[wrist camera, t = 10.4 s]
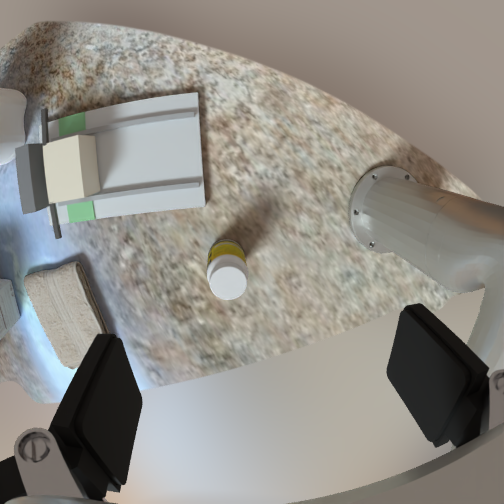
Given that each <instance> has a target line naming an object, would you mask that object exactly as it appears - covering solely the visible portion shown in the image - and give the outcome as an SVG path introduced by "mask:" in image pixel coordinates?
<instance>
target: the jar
mask: <svg viewBox="0 0 504 504" xmlns="http://www.w3.org/2000/svg"><path fill="white" fill-rule="evenodd" d="M26 105H27V99H26V97H25V96H24V95H23V94H22V93H21V92H20V91H18V90H14V89H5V88H0V165H4V164H7V163H9V162H10V161H12V160H13V159H14V158H15V157H16V155H15V148H18V147H21V146H24V144H25V131H24V114H25V109H26Z"/></svg>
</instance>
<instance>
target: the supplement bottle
mask: <svg viewBox="0 0 504 504" xmlns="http://www.w3.org/2000/svg"><path fill="white" fill-rule="evenodd" d="M207 278H208V281H209V283H210V288H211V290H212V292H213V293H214V294H215V295H216V296H217V297H219V298H221V299H224V300H232V299H235V298H238V297H239V296H241V295H242V294H243V293H244V291H245V289H246V287H247V280H248V268H247V264H246V260H245V256H244V252H243V249H242V247H241V246H240V245H239V244H238V243H237V242H235V241H233V240H228V239H225V240H220V241H218V242H216V243H215V244H214V245H213V246H212V247H211V248H210V250H209V253H208V264H207Z"/></svg>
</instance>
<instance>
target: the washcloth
mask: <svg viewBox="0 0 504 504" xmlns="http://www.w3.org/2000/svg"><path fill="white" fill-rule="evenodd" d="M24 286H25V287H26V290H27V293H28V296H29V298H30V301H31V302H32V304H33V307H34V309H35V312H36V314H37V316H38V319H39V321H40V323H41V325H42V327H43V329H44V332H45V333H46V335H47V337H48V339H49V341H50V342H51V344H52V347H53V348H54V350H55V352H56V354H57V356H58V358H59V360H60V361H61V364H63V365H64V366H65V367H68V368H70V369H75V368H78V367H79V366H80V364H81V362H82V360H83V358H84V356H85V355H86V353H87V351H88V349H89V347H90V346H91V344H92V342H93V340H94V338H95V337H96V335H97V334H110V332H109V330H108V328H107V326H106V323H105V321H104V319H103V316H102V314H101V312H100V309H99V307H98V305H97V302H96V300H95V297H94V295H93V293H92V290H91V287H90V285H89V282H88V279H87V276H86V274H85V271H84V269H83V267H82V265H81V263H80V262H78V261H75V262H70V263H68V264H65V265H62V266H60V267H59V268H57V269H53V270H52V269H51V270H43V271H39V272H36V273H35V272H34V273H33V274H29V275H27V276H25V277H24Z"/></svg>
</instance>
